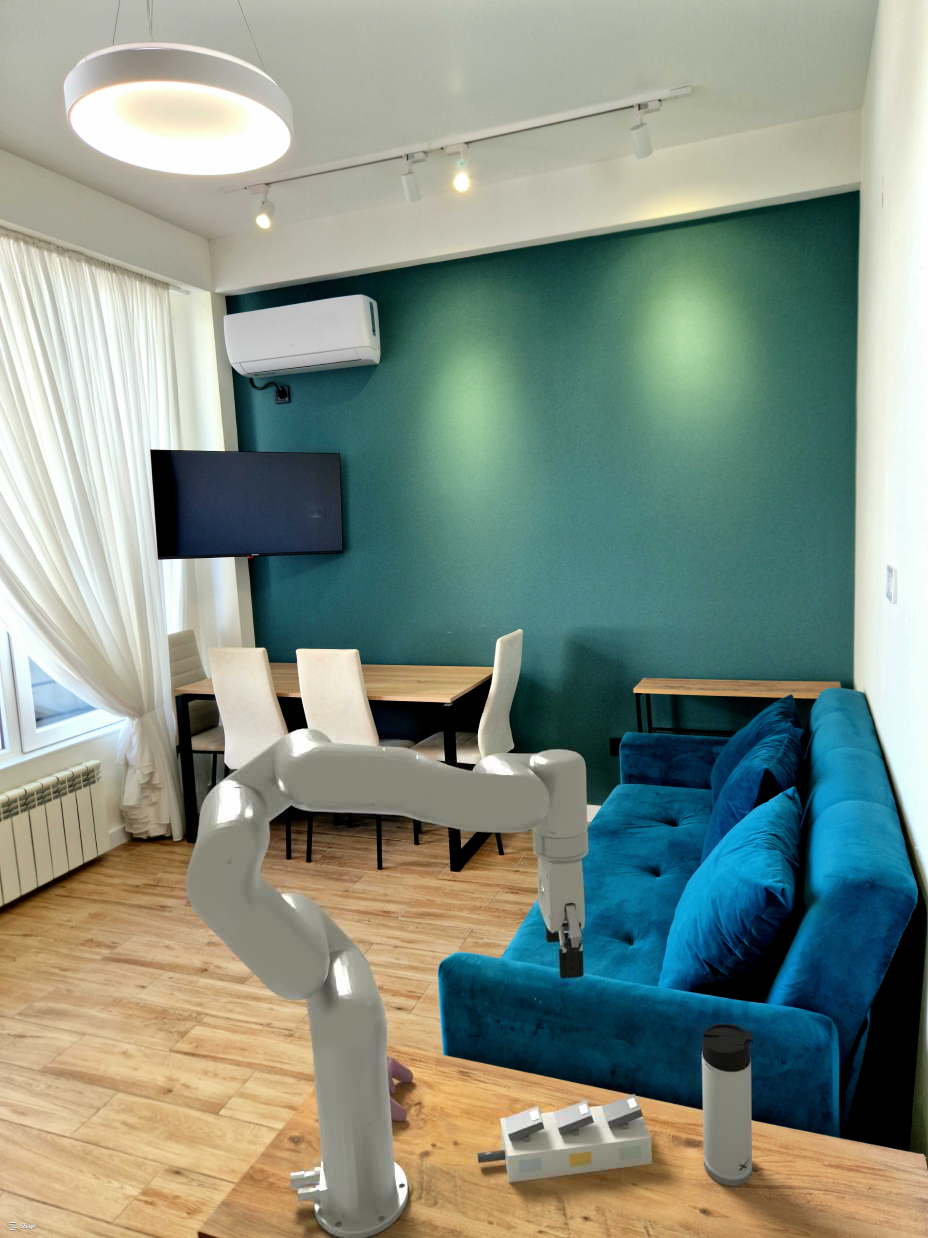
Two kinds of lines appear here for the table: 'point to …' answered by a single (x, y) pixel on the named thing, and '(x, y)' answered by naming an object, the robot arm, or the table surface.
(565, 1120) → the rocker middle
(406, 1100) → the table surface
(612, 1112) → the rocker
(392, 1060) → the video game controller
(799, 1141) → the table surface
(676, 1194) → the table surface
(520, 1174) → the power strip
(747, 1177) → the travel mug
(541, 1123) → the block
